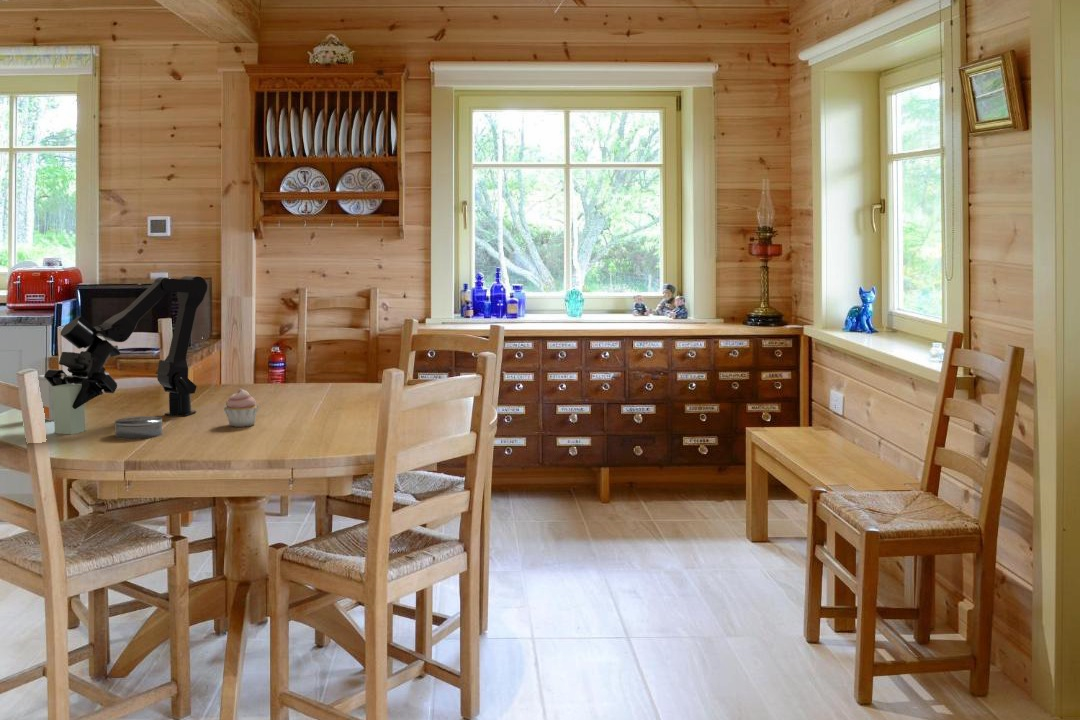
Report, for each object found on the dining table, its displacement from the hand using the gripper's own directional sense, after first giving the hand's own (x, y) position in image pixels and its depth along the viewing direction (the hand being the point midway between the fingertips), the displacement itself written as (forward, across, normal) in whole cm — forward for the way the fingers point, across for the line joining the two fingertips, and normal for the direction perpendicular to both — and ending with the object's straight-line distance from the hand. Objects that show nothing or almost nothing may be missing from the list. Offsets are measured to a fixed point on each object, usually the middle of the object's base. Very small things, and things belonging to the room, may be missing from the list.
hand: (65, 407), depth 256 cm
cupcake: (-12, +35, +22) cm, 43 cm away
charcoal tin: (+2, +19, +8) cm, 20 cm away
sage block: (+4, 0, +6) cm, 7 cm away
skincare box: (-6, -18, +16) cm, 25 cm away
